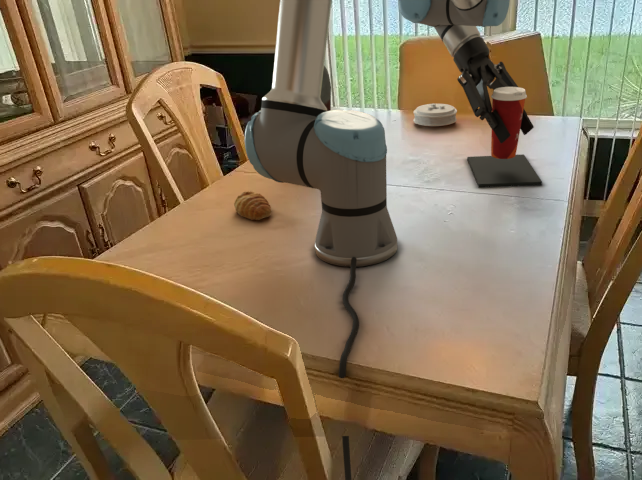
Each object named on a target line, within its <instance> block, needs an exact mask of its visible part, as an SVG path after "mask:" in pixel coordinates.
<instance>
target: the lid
mask: <svg viewBox="0 0 642 480" xmlns="http://www.w3.org/2000/svg"><path fill="white" fill-rule="evenodd" d="M457 113H458V110H457V108H456V107H455V106H453V105H451V104H447V103H427V104H422V105H419V106H417V107H416V108H415V109H414V110H413V115H414V117H413V123H414V124H416V125H419V126H424V127H442V126H448V125H452V124H455V123H456V122H457Z"/></svg>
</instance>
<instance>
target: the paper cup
mask: <svg viewBox="0 0 642 480" xmlns="http://www.w3.org/2000/svg"><path fill="white" fill-rule="evenodd" d="M526 92H527V91H526V89H525V88H524V87H520V86H518V87H501V88H496V89H495V90H493V92H492V94H491V95H490V97H491V98H492V99H491V100H492V102H491V105H492V112H493V111H494V110H496V111H497V112H498V114H499V116H500V117H501V119H502V121H503V123H504V124H505V126H506V128H507V130H508V131H509V133H510V135H511V136H510V137H509V138H508V139H506V140H505V141H504V142H503V143H500V141H499V139H498V138H497V136H496V134H495V133H494V131H493V129H491V138H490V139H491V140H490V141H491V142H490V156H492V157H494V158H498V159H510V158H513V157H515V155H517V151H518V144H519V138H520V132H521V129H520V127H521V121H522V115H523V109H524V110H525V103H526V99H527V98H528V95H527V93H526Z"/></svg>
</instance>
